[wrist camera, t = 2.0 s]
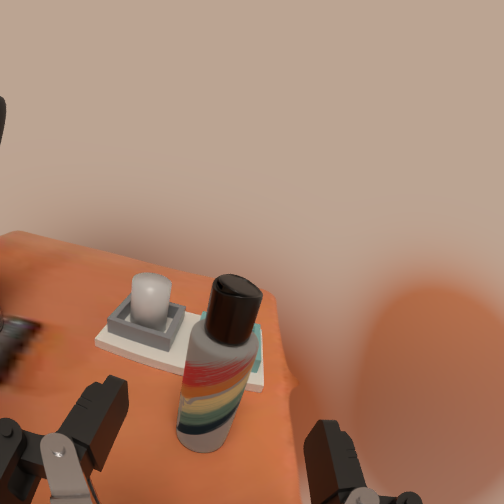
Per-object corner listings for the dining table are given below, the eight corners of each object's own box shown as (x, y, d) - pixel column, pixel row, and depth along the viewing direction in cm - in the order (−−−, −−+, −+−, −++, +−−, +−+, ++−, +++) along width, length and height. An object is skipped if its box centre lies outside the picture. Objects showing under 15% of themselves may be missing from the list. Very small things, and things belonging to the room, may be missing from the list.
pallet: (95, 346, 33) (92, 290, 31) (131, 302, 48) (135, 256, 45) (261, 392, 35) (281, 341, 32) (259, 336, 49) (274, 291, 46)
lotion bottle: (172, 416, 27) (195, 261, 21) (217, 415, 29) (260, 269, 23) (181, 455, 22) (210, 297, 16) (231, 451, 24) (291, 302, 18)
